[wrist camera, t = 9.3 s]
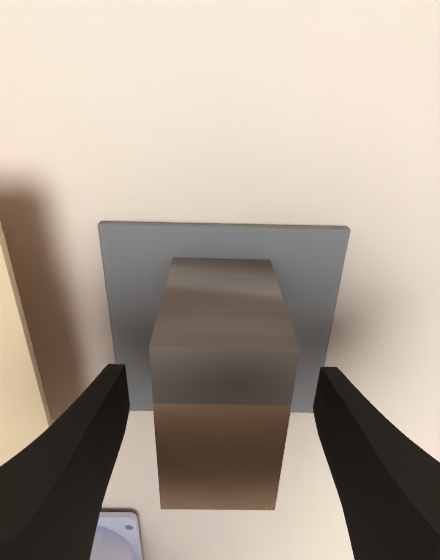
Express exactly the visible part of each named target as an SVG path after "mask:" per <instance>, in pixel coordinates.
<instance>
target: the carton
mask: <svg viewBox="0 0 440 560" xmlns="http://www.w3.org/2000/svg"><path fill="white" fill-rule="evenodd" d="M51 425H52V420H51V416H50V412H49V408H48V404H47V400H46V396H45V392H44V389H43V385H42V381H41V377H40V373H39V369H38V365H37V361H36V357H35V354H34V350H33V346H32V342H31V338H30V334H29V330H28V326H27V322H26V319H25V315H24V311H23V307H22V303H21V299H20V295H19V291H18V287H17V283H16V280H15V276H14V272H13V268H12V264H11V260H10V256H9V252H8V248H7V245H6V241H5V237H4V233H3V229H2V225H1V221H0V466H2V465H3V464H4V463H6V462H7V461H8V460H10V459H11V458H12V457H14V456H15V455H16V454H18V453H19V452H20V451H22V450H23V449H24V448H25V447H27V446H28V445H29V444H30V443H31V442H33V441H34V440H35V439H36V438H37V437H38V436H40V435H41V434H42V433H43V432H44V431H45V430H46V429H47V428H49V427H50V426H51Z"/></svg>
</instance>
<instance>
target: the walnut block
mask: <svg viewBox="0 0 440 560" xmlns="http://www.w3.org/2000/svg"><path fill="white" fill-rule="evenodd" d="M299 353H300V348H299V345H298V342H297V339H296V336H295V333H294V330H293V327H292V324H291V321H290V318H289V315H288V312H287V309H286V306H285V303H284V300H283V297H282V294H281V291H280V288H279V285H278V282H277V279H276V276H275V273H274V270H273V267H272V264H271V261H270V260H266V259H222V258H178V257H173V260H172V264H171V267H170V271H169V275H168V278H167V282H166V286H165V289H164V293H163V297H162V300H161V304H160V308H159V311H158V315H157V319H156V322H155V326H154V330H153V333H152V337H151V341H150V345H149V357H150V371H151V384H152V398H153V411H154V424H155V438H156V451H157V465H158V478H159V492H160V505H161V509H215V510H275V505H276V498H277V492H278V486H279V479H280V473H281V467H282V460H283V454H284V448H285V442H286V435H287V429H288V423H289V416H290V410H291V404H292V397H293V391H294V385H295V378H296V372H297V366H298V360H299Z"/></svg>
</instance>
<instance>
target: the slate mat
mask: <svg viewBox="0 0 440 560" xmlns="http://www.w3.org/2000/svg"><path fill="white" fill-rule="evenodd" d="M98 231H99V239H100V246H101V254H102V261H103V269H104V276H105V284H106V291H107V299H108V306H109V314H110V322H111V329H112V337H113V344H114V352H115V359H116V364H125V366H126V375H127V383H128V392H129V400H130V409H129V410H131V411H153V398H152V384H151V371H150V357H149V345H150V341H151V337H152V333H153V330H154V326H155V322H156V319H157V315H158V311H159V308H160V304H161V300H162V297H163V293H164V289H165V286H166V282H167V278H168V275H169V271H170V267H171V264H172V260H173V257H178V258H222V259H266V260H270V261H271V264H272V267H273V270H274V273H275V276H276V279H277V282H278V285H279V288H280V291H281V294H282V297H283V300H284V303H285V306H286V309H287V312H288V315H289V318H290V321H291V324H292V327H293V330H294V333H295V336H296V339H297V342H298V345H299V348H300V353H299V360H298V366H297V372H296V378H295V385H294V391H293V397H292V404H291V410H290V412H309V413H314V412H313V404H314V398H315V393H316V388H317V383H318V377H319V372H320V367H324V362H325V356H326V351H327V346H328V341H329V336H330V331H331V326H332V321H333V316H334V310H335V305H336V300H337V295H338V290H339V285H340V280H341V275H342V269H343V264H344V259H345V254H346V249H347V244H348V239H349V234H350V229H349V228H348V227H344V226H297V225H249V224H202V223H154V222H107V221H100V222H99V224H98Z"/></svg>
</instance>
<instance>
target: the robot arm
mask: <svg viewBox="0 0 440 560" xmlns="http://www.w3.org/2000/svg"><path fill="white" fill-rule="evenodd" d="M129 409H130V400H129V392H128V383H127V375H126V366H125V364H108V365H107V366H106V367H105V368H104V369H103V370H102V372H101V373H100V374H99V375H98V376H97V377H96V379H95V380H94V381H93V382H92V383H91V384H90V385H89V387H88V388H87V389H86V390H85V391H84V392H83V393H82V394H81V395H80V396H79V398H78V399H77V400H76V401H75V402H74V403H73V404H72V405H71V406H70V407H69V408H68V409H67V410H66V411H65V412H64V413H63V414H62V415H61V416H60V417H59V418H58V419H57V420H56V421H55V422H54V423H53V424H52V425H51V426H50V427H49V428H47V429H46V430H45V431H44V432H43V433H42V434H41V435H40V436H38V437H37V438H36V439H35V440H34V441H33V442H31V443H30V444H29V445H28V446H27V447H25V448H24V449H23V450H22V451H20V452H19V453H18V454H16V455H15V456H14V457H12V458H11V459H10V460H8V461H7V462H6V463H4V464H3V465H2V466H0V560H143V558H142V550H141V542H140V535H139V527H138V519H137V516H136V514H134V513H132V512H100V511H101V506H102V503H103V499H104V496H105V492H106V489H107V486H108V483H109V480H110V477H111V474H112V471H113V468H114V465H115V462H116V458H117V455H118V452H119V449H120V446H121V443H122V440H123V437H124V433H125V429H126V424H127V419H128V414H129ZM313 412H314V417H315V422H316V426H317V431H318V435H319V438H320V441H321V444H322V447H323V450H324V453H325V456H326V459H327V462H328V465H329V468H330V471H331V474H332V477H333V480H334V483H335V485H336V488H337V491H338V494H339V498H340V501H341V504H342V508H343V512H344V516H345V520H346V524H347V528H348V532H349V537H350V541H351V546H352V550H353V555H354V559H355V560H440V462H438V461H437V460H436V459H434V458H433V457H432V456H430V455H429V454H428V453H426V452H425V451H424V450H423V449H421V448H420V447H419V446H418V445H416V444H415V443H414V442H413V441H411V440H410V439H409V438H408V437H406V436H405V435H404V434H403V433H402V432H401V431H400V430H398V429H397V428H396V427H395V426H394V425H393V424H392V423H391V422H390V421H389V420H387V419H386V418H385V417H384V416H383V415H382V414H381V413H380V412H379V411H378V410H377V409H376V408H375V407H374V406H373V405H372V404H371V403H370V402H369V401H368V400H367V399H366V398H365V397H364V396H363V395H362V394H361V393H360V391H359V390H358V389H357V388H356V387H355V386H354V385H353V384H352V383H351V382H350V381H349V380H348V379H347V377H346V376H345V375H344V374H343V373H342V372H341V371H340V370H339V369H338V368H337V367H320V372H319V377H318V383H317V388H316V393H315V398H314V404H313Z"/></svg>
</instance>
